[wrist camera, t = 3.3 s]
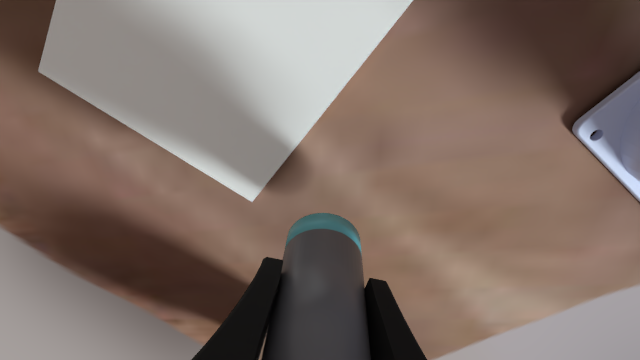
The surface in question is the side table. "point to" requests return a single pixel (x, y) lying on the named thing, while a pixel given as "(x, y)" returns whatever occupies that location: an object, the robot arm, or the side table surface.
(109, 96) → the paper
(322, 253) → the grey cylinder
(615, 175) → the robot arm
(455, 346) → the side table surface
